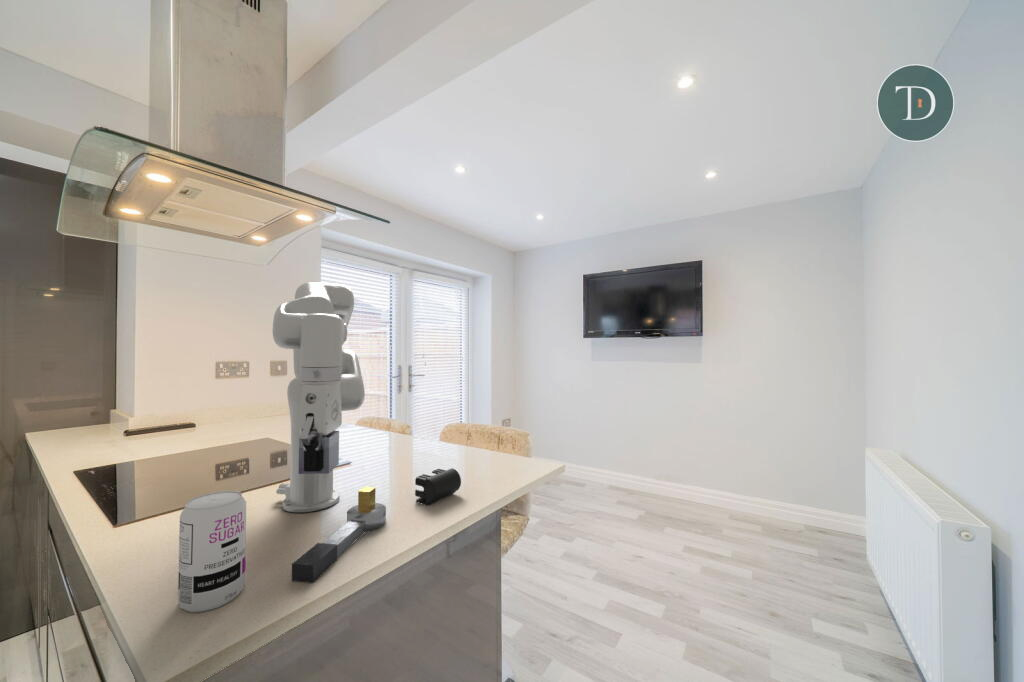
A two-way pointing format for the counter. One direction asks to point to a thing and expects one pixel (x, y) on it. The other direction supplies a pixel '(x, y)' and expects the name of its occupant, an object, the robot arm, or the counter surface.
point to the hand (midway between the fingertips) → (319, 464)
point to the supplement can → (211, 550)
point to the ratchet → (341, 537)
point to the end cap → (437, 485)
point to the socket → (323, 453)
